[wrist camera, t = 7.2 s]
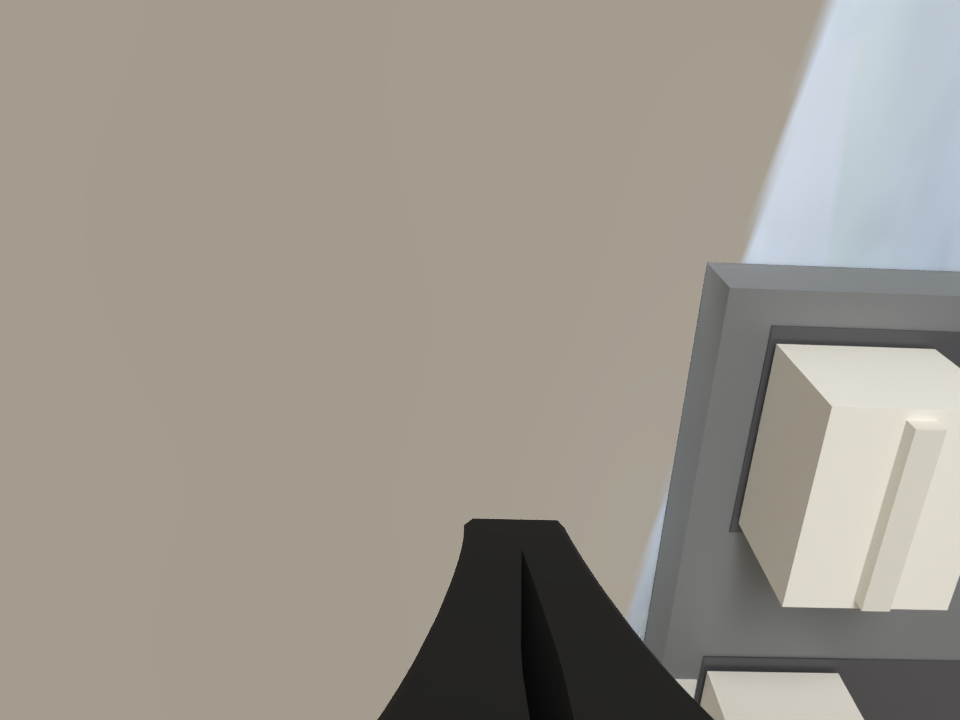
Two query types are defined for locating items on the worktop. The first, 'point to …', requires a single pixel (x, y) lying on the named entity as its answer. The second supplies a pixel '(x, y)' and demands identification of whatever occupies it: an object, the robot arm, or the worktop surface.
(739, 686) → the middle tab
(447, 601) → the robot arm
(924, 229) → the worktop surface
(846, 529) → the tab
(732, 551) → the switch plate
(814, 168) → the worktop surface
